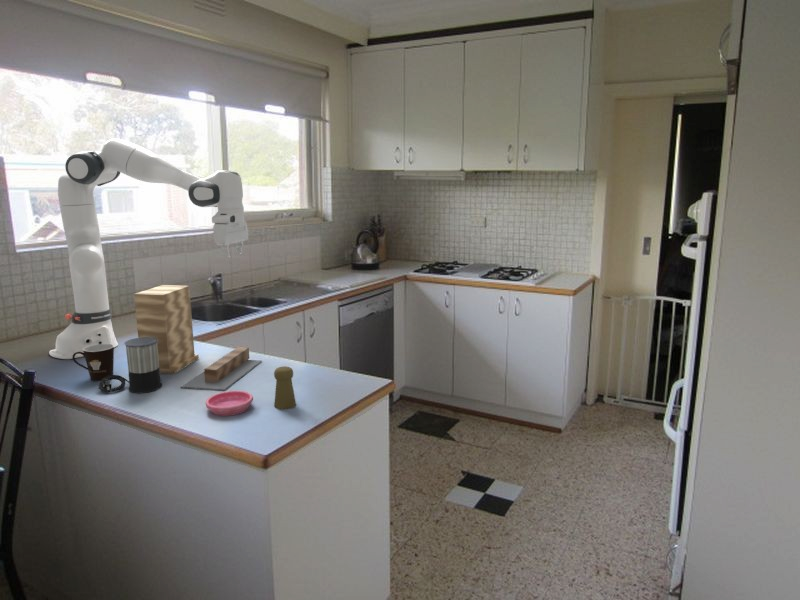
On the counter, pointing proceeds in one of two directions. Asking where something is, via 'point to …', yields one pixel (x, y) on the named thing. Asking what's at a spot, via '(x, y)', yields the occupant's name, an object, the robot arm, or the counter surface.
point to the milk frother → (138, 367)
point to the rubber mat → (224, 382)
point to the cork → (284, 388)
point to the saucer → (229, 402)
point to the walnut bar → (226, 364)
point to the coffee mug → (98, 360)
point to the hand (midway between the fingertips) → (233, 255)
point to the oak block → (167, 324)
